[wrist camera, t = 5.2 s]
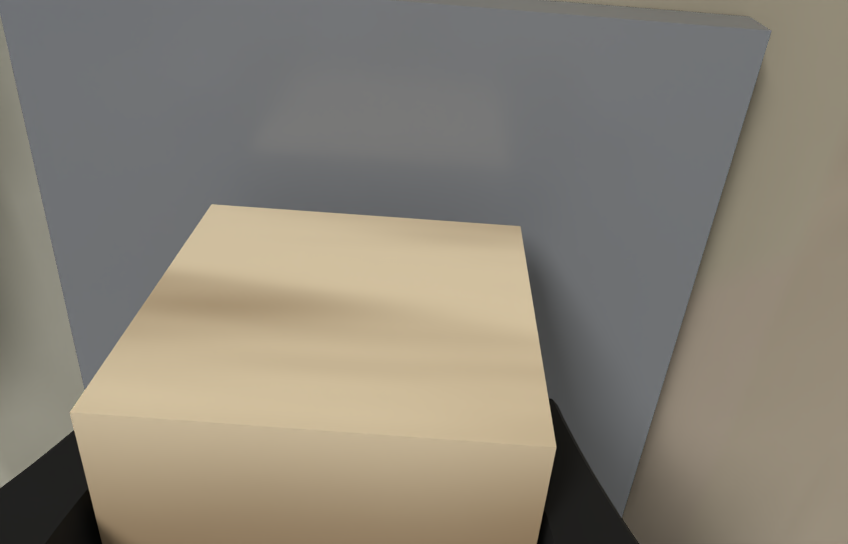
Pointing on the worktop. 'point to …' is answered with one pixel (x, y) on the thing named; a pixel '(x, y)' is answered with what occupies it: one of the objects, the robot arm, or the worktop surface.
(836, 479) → the worktop surface
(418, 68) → the slate trivet
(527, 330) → the beech cube
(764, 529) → the worktop surface
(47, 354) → the worktop surface
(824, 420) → the worktop surface
